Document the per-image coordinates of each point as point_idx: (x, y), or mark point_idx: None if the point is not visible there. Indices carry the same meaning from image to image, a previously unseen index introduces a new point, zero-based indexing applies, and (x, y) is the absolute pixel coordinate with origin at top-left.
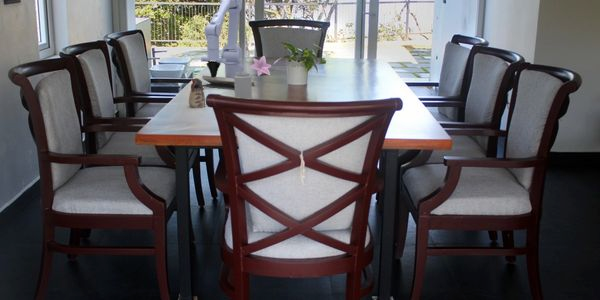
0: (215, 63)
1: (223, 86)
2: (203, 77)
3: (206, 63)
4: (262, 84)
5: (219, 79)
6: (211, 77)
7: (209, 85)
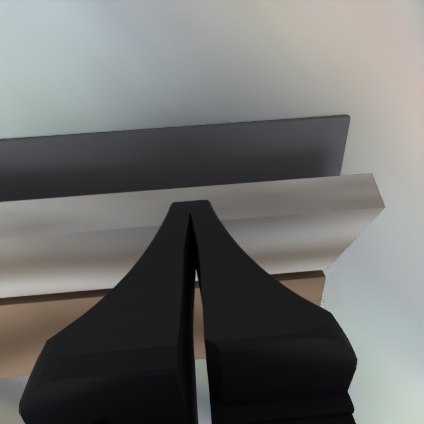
0: (32, 419)
1: None
2: (354, 186)
3: (337, 338)
4: (9, 398)
5: (70, 203)
6: (219, 206)
7: (263, 176)
